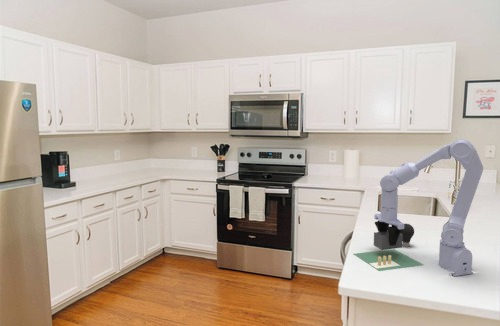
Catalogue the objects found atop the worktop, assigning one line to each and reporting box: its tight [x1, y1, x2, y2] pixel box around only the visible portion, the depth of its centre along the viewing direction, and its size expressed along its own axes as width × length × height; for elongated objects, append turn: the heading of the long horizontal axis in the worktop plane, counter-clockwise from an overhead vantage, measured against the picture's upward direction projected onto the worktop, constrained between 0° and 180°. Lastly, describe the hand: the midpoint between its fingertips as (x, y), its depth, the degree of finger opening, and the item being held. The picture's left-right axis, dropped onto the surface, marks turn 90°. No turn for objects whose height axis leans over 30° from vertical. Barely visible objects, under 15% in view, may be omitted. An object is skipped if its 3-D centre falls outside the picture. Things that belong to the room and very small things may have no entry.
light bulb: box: [400, 223, 415, 248], centre depth 138 cm, size 6×6×10 cm
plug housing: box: [373, 231, 403, 251], centre depth 128 cm, size 5×9×5 cm, turn 105°
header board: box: [353, 248, 424, 272], centre depth 124 cm, size 16×18×4 cm
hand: (387, 242), depth 129 cm, fingers closed on plug housing, 5 cm apart
